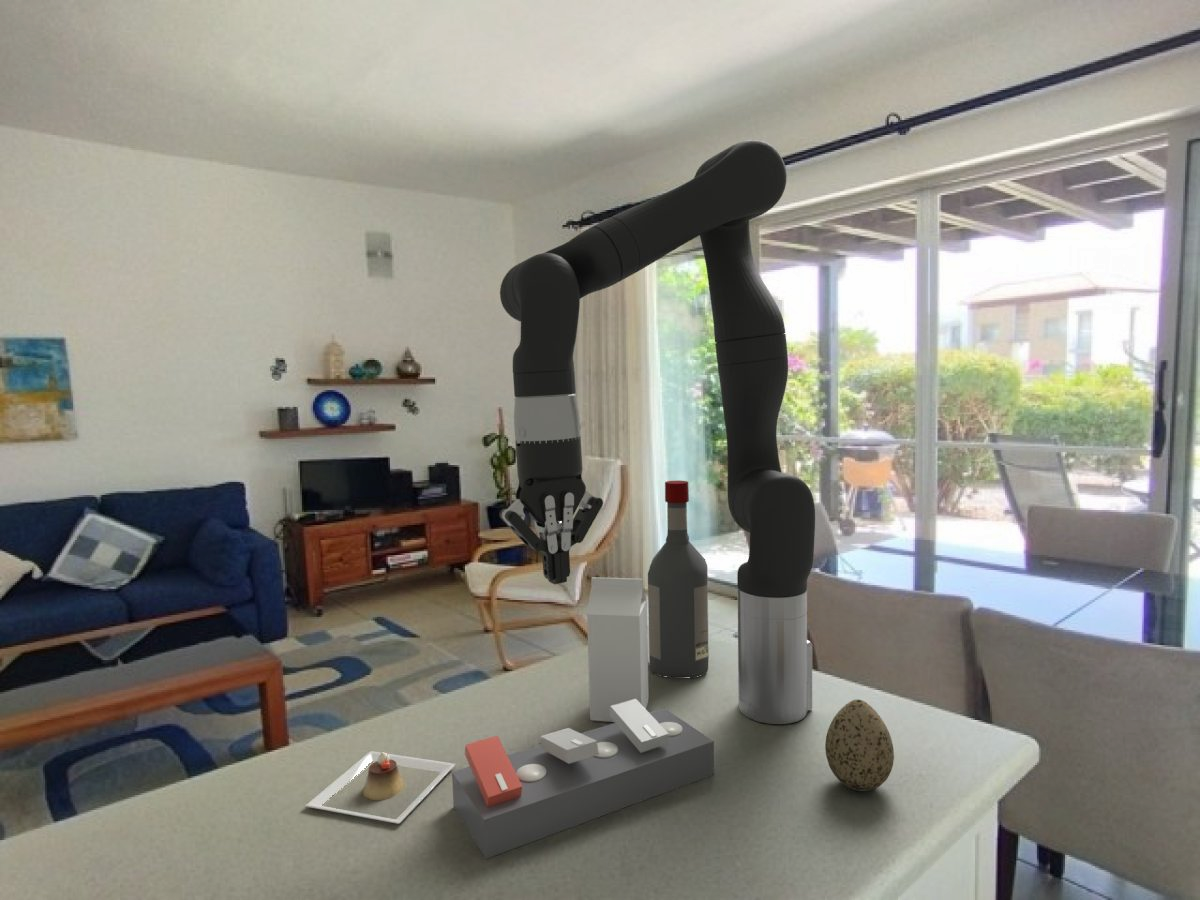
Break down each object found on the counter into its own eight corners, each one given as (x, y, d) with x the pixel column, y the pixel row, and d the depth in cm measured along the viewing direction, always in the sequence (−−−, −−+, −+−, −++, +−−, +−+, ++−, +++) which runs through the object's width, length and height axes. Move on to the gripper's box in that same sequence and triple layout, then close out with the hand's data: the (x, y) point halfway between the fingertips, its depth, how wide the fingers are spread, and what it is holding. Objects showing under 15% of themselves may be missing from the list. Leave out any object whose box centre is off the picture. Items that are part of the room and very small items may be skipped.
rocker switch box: (665, 737, 91) (664, 706, 90) (714, 774, 82) (713, 739, 81) (453, 806, 77) (451, 770, 76) (485, 858, 68) (483, 817, 68)
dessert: (399, 833, 73) (397, 790, 73) (304, 815, 77) (301, 773, 77) (456, 772, 85) (454, 734, 84) (371, 759, 88) (368, 722, 88)
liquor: (648, 677, 109) (644, 486, 107) (653, 655, 118) (650, 478, 116) (708, 680, 108) (705, 486, 105) (708, 657, 117) (706, 478, 114)
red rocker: (496, 745, 77) (497, 734, 76) (520, 796, 72) (522, 785, 71) (464, 754, 75) (465, 743, 75) (487, 807, 70) (488, 796, 69)
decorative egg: (815, 791, 78) (815, 704, 77) (837, 762, 84) (837, 681, 83) (882, 813, 74) (883, 722, 73) (901, 782, 79) (902, 696, 78)
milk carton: (641, 725, 94) (638, 586, 92) (589, 721, 96) (585, 584, 94) (648, 701, 101) (646, 572, 99) (600, 698, 102) (596, 570, 101)
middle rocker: (570, 740, 82) (568, 726, 82) (598, 754, 76) (596, 739, 76) (541, 748, 80) (540, 735, 80) (568, 763, 74) (567, 748, 74)
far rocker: (634, 708, 86) (636, 697, 86) (667, 744, 80) (668, 732, 80) (609, 716, 84) (610, 705, 84) (640, 752, 78) (642, 741, 78)
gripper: (581, 429, 87) (589, 565, 89) (481, 439, 81) (492, 586, 82) (613, 431, 81) (621, 578, 83) (507, 442, 74) (518, 601, 76)
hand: (557, 581), depth 83 cm, fingers closed
